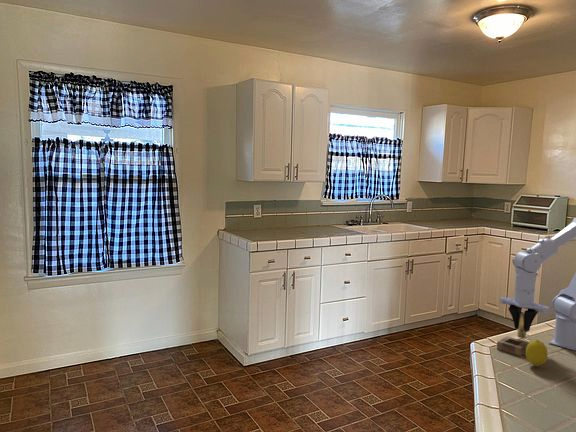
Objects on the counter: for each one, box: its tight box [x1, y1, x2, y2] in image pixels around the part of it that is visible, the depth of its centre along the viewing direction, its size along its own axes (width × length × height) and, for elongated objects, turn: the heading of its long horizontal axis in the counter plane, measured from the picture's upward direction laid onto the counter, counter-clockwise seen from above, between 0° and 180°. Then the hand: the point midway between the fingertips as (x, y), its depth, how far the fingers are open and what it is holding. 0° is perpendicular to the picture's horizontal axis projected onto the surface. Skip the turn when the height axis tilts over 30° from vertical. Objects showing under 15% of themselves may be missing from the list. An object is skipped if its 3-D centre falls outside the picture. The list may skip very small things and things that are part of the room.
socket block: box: [496, 336, 530, 357], centre depth 140 cm, size 7×7×2 cm
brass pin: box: [516, 311, 527, 339], centre depth 144 cm, size 2×2×8 cm
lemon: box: [525, 339, 548, 368], centre depth 128 cm, size 6×6×8 cm
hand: (522, 329), depth 144 cm, fingers closed on brass pin, 2 cm apart
